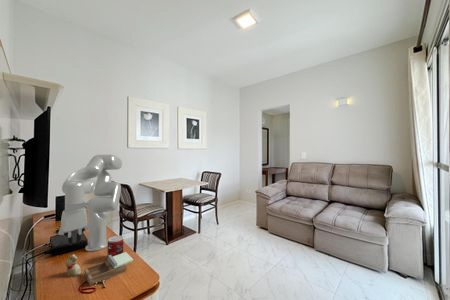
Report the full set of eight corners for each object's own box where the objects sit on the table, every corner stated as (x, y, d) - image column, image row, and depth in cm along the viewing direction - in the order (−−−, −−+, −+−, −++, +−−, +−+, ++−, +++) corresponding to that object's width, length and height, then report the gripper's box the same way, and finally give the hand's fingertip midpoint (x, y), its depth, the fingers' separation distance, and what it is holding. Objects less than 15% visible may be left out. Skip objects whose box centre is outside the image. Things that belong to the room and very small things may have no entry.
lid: (108, 259, 99) (108, 255, 99) (125, 253, 105) (125, 249, 105) (114, 268, 91) (114, 263, 92) (133, 260, 98) (133, 256, 98)
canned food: (109, 255, 110) (109, 236, 110) (124, 252, 112) (124, 234, 113) (105, 262, 102) (106, 242, 103) (122, 259, 105) (122, 239, 105)
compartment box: (84, 274, 92) (84, 268, 92) (118, 261, 103) (118, 256, 103) (89, 286, 84) (89, 279, 84) (125, 271, 95) (125, 265, 95)
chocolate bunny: (78, 268, 98) (78, 248, 98) (82, 274, 93) (82, 253, 93) (65, 273, 93) (65, 253, 94) (68, 280, 88) (68, 258, 89)
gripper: (92, 202, 102) (91, 236, 102) (52, 208, 90) (52, 246, 90) (95, 204, 97) (95, 240, 97) (54, 212, 85) (53, 252, 85)
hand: (74, 243), depth 93 cm, fingers closed
